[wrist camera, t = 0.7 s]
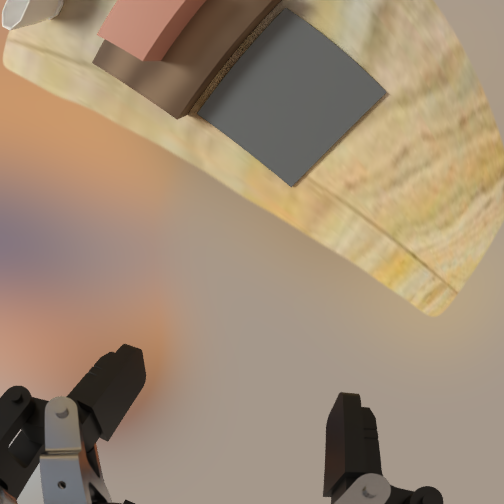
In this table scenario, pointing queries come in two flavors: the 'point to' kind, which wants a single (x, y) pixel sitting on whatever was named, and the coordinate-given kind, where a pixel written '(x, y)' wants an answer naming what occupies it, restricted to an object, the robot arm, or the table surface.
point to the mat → (290, 97)
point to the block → (147, 25)
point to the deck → (188, 54)
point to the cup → (29, 12)
